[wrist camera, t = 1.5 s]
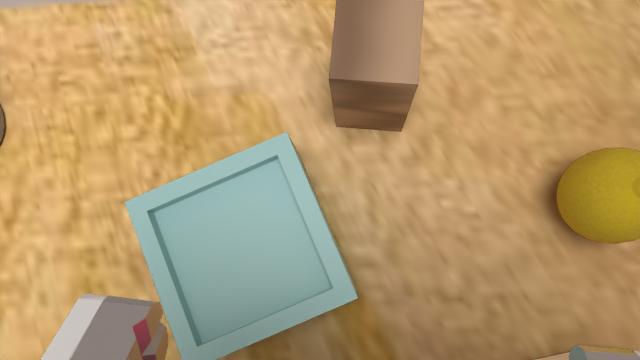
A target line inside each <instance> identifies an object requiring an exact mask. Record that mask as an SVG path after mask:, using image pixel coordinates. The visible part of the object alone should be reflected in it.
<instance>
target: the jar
mask: <svg viewBox="0 0 640 360" xmlns="http://www.w3.org/2000/svg"><path fill="white" fill-rule="evenodd" d="M595 347H596V346H595ZM569 354H570V352H567V353H563V354H558V355H554V356H549V357H544V358H540V359H535V360H569V357H568V356H569Z"/></svg>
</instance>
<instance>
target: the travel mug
mask: <svg viewBox="0 0 640 360" xmlns="http://www.w3.org/2000/svg"><path fill="white" fill-rule="evenodd" d="M4 127H5V125H4V116H3V112H2V109H1V107H0V143H1V140H2V137H3V134H4Z"/></svg>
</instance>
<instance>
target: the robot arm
mask: <svg viewBox="0 0 640 360" xmlns="http://www.w3.org/2000/svg"><path fill="white" fill-rule="evenodd" d="M162 314H163V312H162V308H161V305H160V302H152V301H144V300H137V299H129V298H122V297H114V296H106V295H97V294H88V293H85V294H84V295H82V296H81V297H80V298H79V299H78V300H77V301H76V303H75V304H74V306H73V308H72V309H71V311H70V312H69V314H68V316H67V317H66V319H65V321H64V322H63V324H62V325H61V327H60V329H59V330H58V332H57V333H56V335H55V337H54V338H53V340H52V341H51V343H50V345H49V346H48V348H47V350H46V351H45V353H44V354H43V356H42V358H41V359H40V360H165V357H166V352H167V347H168V334H167V329H166V327H165V326H164V325H163V324H162V323H160V322H159V321H160V319H161V316H162ZM568 357H569V360H640V351H631V350H628V349H617V348H606V347H595V346H584V345H577V346H575V347H573V348H572V350H571V352H570V354H569V356H568Z"/></svg>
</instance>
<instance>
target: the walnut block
mask: <svg viewBox="0 0 640 360" xmlns="http://www.w3.org/2000/svg"><path fill="white" fill-rule="evenodd" d="M423 9H424V0H336V10H335V21H334V31H333V42H332V52H331V63H330V73H329V82H330V88H331V95H332V102H333V109H334V116H335V122H336V127H347V128H360V129H374V130H387V131H400V132H401V131H402V128H403V126H404V123H405V120H406V117H407V114H408V112H409V109H410V106H411V103H412V100H413V98H414V95H415V92H416V89H417V86H418V81H419V66H420V52H421V38H422V24H423Z"/></svg>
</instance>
